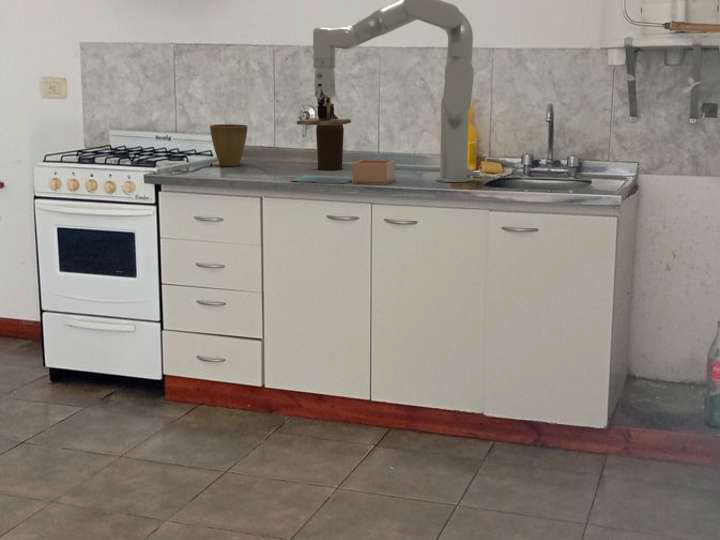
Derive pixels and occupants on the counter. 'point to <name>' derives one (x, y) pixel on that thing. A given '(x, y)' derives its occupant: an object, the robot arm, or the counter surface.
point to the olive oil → (330, 145)
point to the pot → (374, 171)
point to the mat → (323, 179)
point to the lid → (324, 120)
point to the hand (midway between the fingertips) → (324, 117)
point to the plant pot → (229, 142)
